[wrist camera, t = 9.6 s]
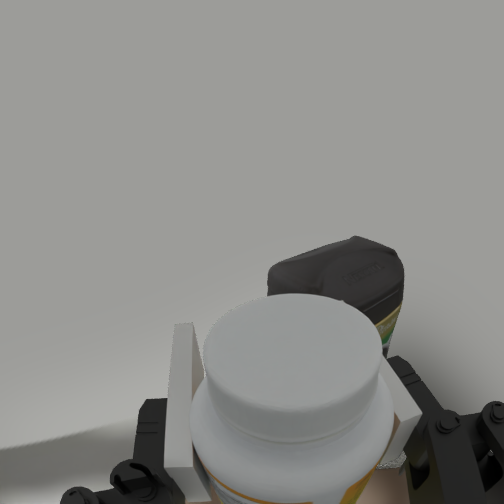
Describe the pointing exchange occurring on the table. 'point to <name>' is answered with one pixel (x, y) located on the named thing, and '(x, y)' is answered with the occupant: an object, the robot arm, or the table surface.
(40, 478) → the table surface
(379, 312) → the coffee jar
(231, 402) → the supplement bottle
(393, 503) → the brown flat board
